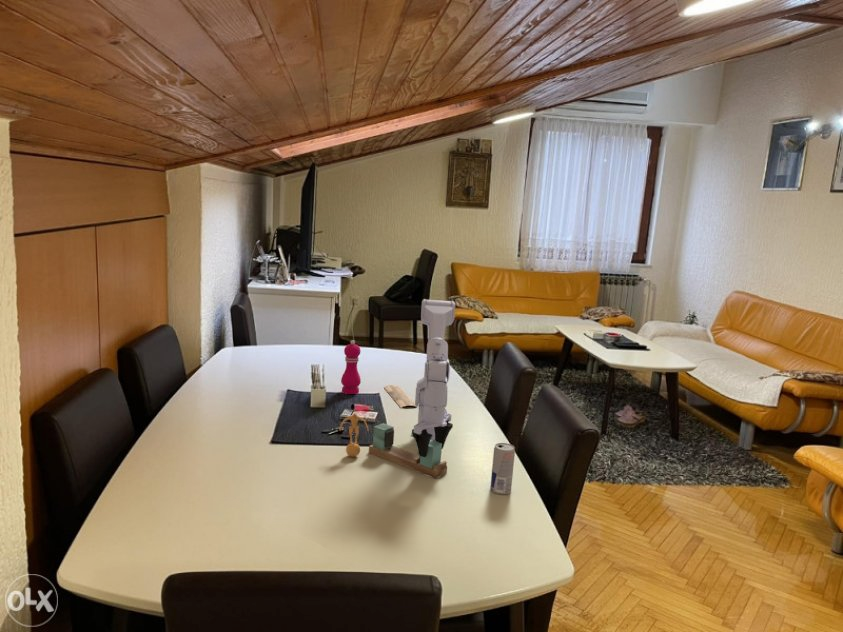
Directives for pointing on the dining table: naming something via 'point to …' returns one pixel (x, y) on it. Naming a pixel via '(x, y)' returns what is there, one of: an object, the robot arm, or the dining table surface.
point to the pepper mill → (351, 369)
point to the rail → (400, 452)
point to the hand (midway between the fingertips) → (430, 452)
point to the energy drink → (502, 468)
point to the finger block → (432, 455)
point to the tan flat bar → (399, 396)
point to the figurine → (354, 448)
